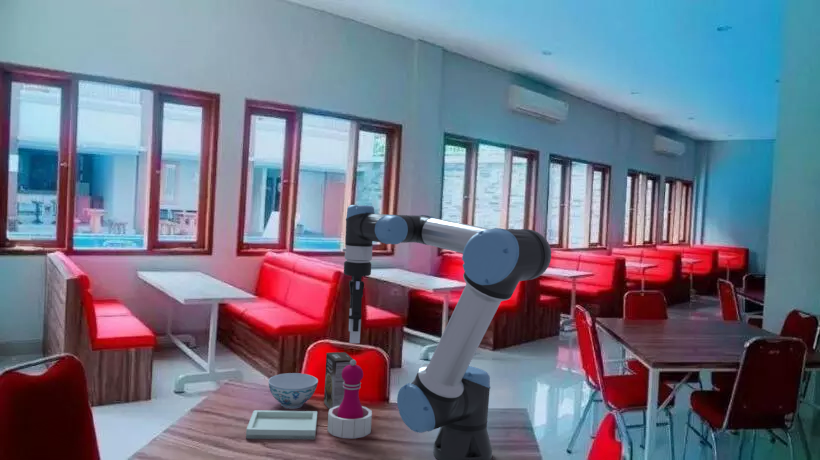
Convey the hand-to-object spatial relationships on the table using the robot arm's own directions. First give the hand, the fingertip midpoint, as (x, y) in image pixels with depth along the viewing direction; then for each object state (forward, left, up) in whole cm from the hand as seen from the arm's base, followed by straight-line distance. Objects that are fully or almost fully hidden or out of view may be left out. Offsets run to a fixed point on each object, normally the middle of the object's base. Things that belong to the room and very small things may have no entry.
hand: (353, 336), depth 168 cm
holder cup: (0, 0, -26) cm, 26 cm away
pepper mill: (0, 0, -27) cm, 27 cm away
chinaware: (+25, -6, -27) cm, 37 cm away
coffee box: (+13, -13, -27) cm, 32 cm away
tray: (+15, +10, -26) cm, 32 cm away
